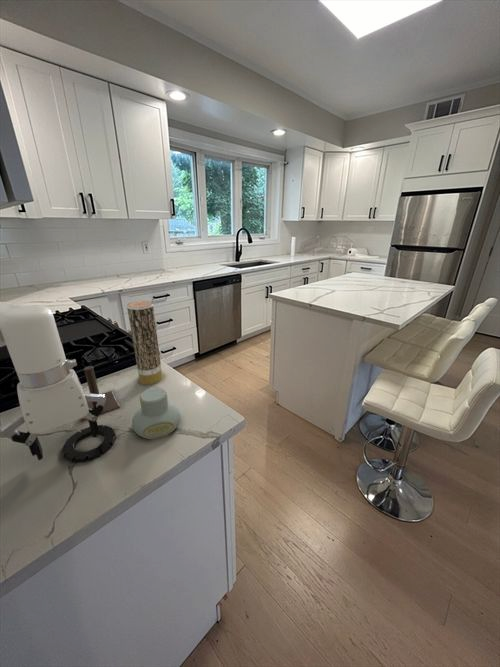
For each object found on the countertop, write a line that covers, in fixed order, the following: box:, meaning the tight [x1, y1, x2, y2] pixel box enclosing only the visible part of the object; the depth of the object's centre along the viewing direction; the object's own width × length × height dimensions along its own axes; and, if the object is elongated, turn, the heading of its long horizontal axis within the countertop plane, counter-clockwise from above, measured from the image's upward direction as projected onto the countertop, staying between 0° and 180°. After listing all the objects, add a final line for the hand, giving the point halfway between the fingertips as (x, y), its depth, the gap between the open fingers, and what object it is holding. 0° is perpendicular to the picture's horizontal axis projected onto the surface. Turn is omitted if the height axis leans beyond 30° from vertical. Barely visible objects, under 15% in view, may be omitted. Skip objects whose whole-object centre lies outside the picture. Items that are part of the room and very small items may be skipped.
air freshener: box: [131, 387, 181, 440], centre depth 65 cm, size 11×8×10 cm
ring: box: [62, 424, 117, 464], centre depth 61 cm, size 10×10×2 cm
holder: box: [79, 365, 121, 423], centre depth 71 cm, size 9×9×12 cm
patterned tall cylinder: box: [126, 300, 163, 385], centre depth 82 cm, size 7×7×25 cm
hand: (68, 444), depth 58 cm, fingers open, 9 cm apart
